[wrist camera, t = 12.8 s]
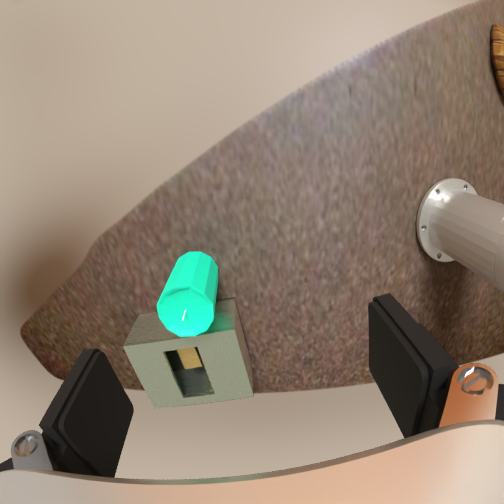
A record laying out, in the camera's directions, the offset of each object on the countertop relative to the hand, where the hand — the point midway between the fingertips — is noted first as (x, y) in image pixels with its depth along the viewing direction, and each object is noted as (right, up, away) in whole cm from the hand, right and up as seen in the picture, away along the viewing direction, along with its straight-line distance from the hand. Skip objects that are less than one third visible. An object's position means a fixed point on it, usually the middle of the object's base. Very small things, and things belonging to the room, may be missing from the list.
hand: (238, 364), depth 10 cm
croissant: (+41, +35, +22) cm, 58 cm away
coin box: (-8, -9, +35) cm, 37 cm away
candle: (-7, +1, +32) cm, 32 cm away
